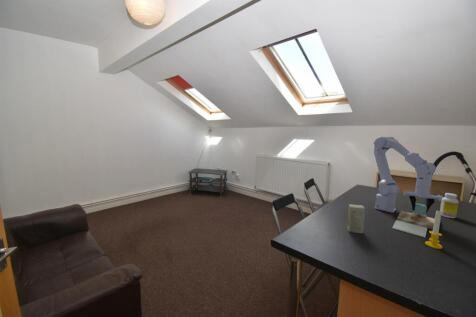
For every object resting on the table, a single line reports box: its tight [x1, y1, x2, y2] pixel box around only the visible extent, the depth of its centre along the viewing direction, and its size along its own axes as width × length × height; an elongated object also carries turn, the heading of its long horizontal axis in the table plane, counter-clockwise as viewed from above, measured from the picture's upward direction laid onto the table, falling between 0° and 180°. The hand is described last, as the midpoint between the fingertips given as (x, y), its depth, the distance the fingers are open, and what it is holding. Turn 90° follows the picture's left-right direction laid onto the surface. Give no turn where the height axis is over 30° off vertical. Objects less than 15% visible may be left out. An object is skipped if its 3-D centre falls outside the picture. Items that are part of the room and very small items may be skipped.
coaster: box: [391, 219, 428, 239], centre depth 100 cm, size 12×12×1 cm
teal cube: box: [412, 202, 427, 216], centre depth 108 cm, size 4×4×4 cm
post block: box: [396, 210, 435, 230], centre depth 108 cm, size 16×14×5 cm
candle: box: [424, 210, 443, 250], centre depth 84 cm, size 5×5×16 cm
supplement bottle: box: [439, 192, 459, 219], centre depth 115 cm, size 7×7×13 cm
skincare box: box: [346, 203, 366, 234], centre depth 96 cm, size 6×4×12 cm
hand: (419, 211), depth 108 cm, fingers closed on teal cube, 4 cm apart
